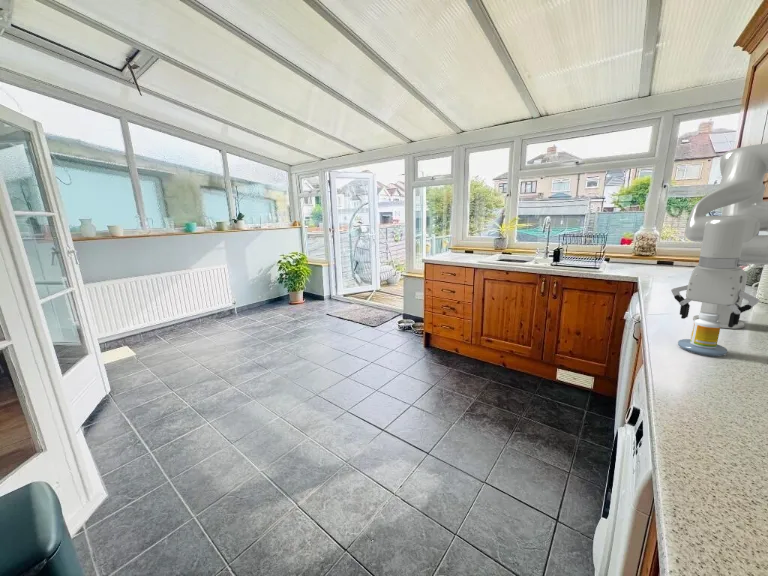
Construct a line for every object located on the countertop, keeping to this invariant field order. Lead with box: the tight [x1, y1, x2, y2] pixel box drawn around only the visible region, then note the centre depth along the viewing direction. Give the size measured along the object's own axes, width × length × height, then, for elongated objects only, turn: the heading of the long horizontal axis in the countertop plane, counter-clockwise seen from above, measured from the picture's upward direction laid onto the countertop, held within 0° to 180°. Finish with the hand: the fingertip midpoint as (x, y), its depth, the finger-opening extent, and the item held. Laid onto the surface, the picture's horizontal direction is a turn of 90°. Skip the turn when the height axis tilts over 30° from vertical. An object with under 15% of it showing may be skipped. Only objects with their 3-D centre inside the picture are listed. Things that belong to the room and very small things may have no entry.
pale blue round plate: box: [677, 338, 728, 357], centre depth 90 cm, size 10×10×2 cm
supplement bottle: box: [690, 311, 722, 349], centre depth 89 cm, size 5×5×10 cm
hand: (706, 321), depth 89 cm, fingers open, 9 cm apart
